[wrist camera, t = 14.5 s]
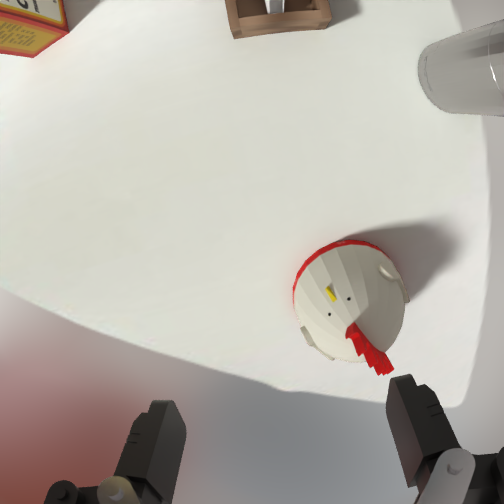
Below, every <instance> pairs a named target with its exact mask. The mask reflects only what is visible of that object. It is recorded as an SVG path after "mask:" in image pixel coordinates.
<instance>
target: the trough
mask: <svg viewBox="0 0 504 504" xmlns="http://www.w3.org/2000/svg"><path fill="white" fill-rule="evenodd" d="M225 4H226V9H227V14H228V20H229V25H230V30H231V32H232V35H233V37H234V39H239V38H245V37H251V36H258V35H265V34H273V33H282V32H293V31H305V30H321V29H325V28H326V27H327V25H328V24H329V22H330V21H331V19H332V15H331V11H330V6H329V2H328V0H284V12H283V13H274V14H268V13H267V8H266V4H265V0H225Z"/></svg>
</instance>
